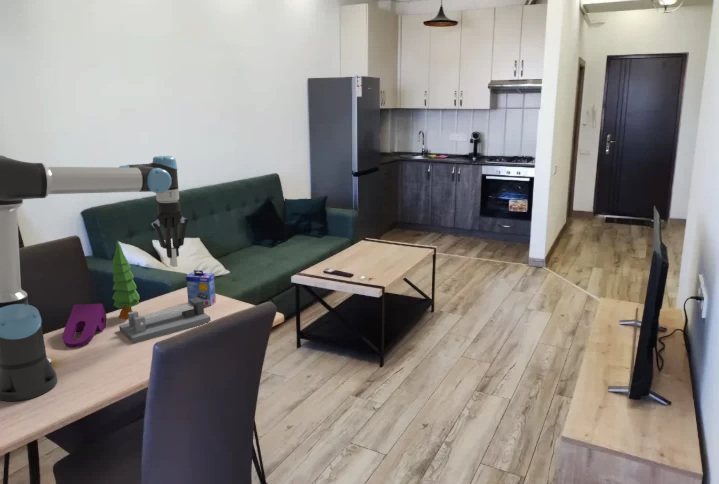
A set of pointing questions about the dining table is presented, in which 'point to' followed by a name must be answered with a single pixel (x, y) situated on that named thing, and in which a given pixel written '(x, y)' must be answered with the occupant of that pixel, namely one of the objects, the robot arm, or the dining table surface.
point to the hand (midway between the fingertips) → (173, 265)
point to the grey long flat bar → (166, 312)
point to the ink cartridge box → (201, 287)
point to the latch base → (164, 323)
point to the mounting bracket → (84, 324)
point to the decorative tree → (123, 284)
